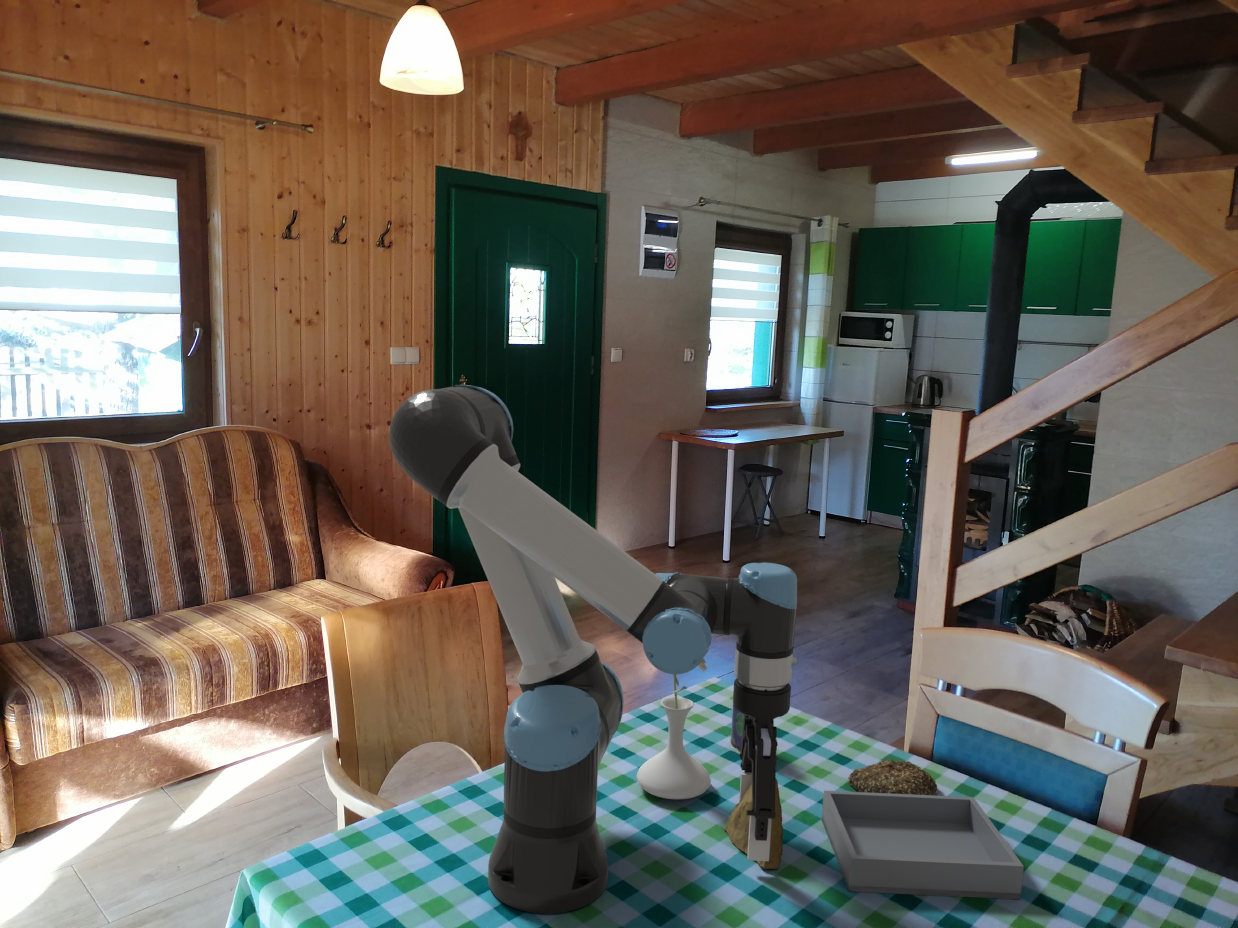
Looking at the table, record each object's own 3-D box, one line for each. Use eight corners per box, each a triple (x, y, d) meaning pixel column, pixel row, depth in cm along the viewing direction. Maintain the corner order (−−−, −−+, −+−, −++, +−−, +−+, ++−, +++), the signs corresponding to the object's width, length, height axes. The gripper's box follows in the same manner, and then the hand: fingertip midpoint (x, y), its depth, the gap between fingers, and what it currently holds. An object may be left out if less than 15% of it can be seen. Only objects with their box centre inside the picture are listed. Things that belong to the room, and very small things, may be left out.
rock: (802, 861, 120) (804, 813, 129) (764, 810, 119) (769, 765, 129) (733, 893, 124) (739, 844, 133) (696, 843, 123) (705, 798, 132)
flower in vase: (707, 811, 137) (717, 647, 133) (631, 802, 138) (637, 640, 135) (713, 770, 149) (721, 620, 146) (642, 763, 151) (649, 614, 148)
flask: (727, 741, 160) (731, 682, 159) (742, 739, 161) (746, 680, 160) (753, 765, 152) (757, 703, 150) (769, 763, 153) (773, 701, 151)
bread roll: (902, 819, 137) (905, 787, 136) (837, 785, 147) (839, 755, 146) (954, 796, 145) (957, 766, 144) (888, 765, 154) (891, 737, 154)
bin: (849, 891, 118) (851, 858, 117) (821, 819, 135) (823, 790, 135) (1020, 899, 118) (1023, 865, 117) (970, 826, 135) (973, 797, 134)
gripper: (806, 716, 112) (794, 887, 115) (778, 652, 135) (768, 797, 138) (744, 713, 112) (734, 884, 115) (726, 650, 135) (718, 795, 138)
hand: (753, 837), depth 127 cm, fingers closed on rock, 10 cm apart
